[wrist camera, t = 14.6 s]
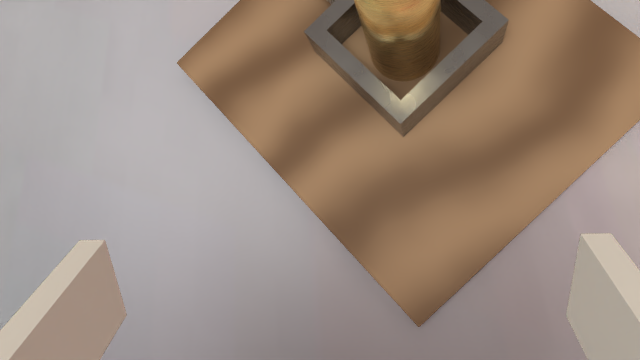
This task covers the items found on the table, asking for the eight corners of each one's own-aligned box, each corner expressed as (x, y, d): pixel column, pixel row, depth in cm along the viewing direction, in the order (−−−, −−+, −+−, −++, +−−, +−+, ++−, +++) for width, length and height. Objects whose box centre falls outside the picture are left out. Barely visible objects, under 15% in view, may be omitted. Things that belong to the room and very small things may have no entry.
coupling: (356, 51, 35) (316, -62, 23) (405, 3, 34) (389, -134, 23) (404, 95, 33) (386, -1, 22) (455, 46, 33) (464, -76, 22)
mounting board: (183, 68, 38) (176, 62, 37) (393, -139, 38) (392, -151, 37) (419, 325, 32) (418, 327, 31) (680, 80, 31) (687, 74, 30)
